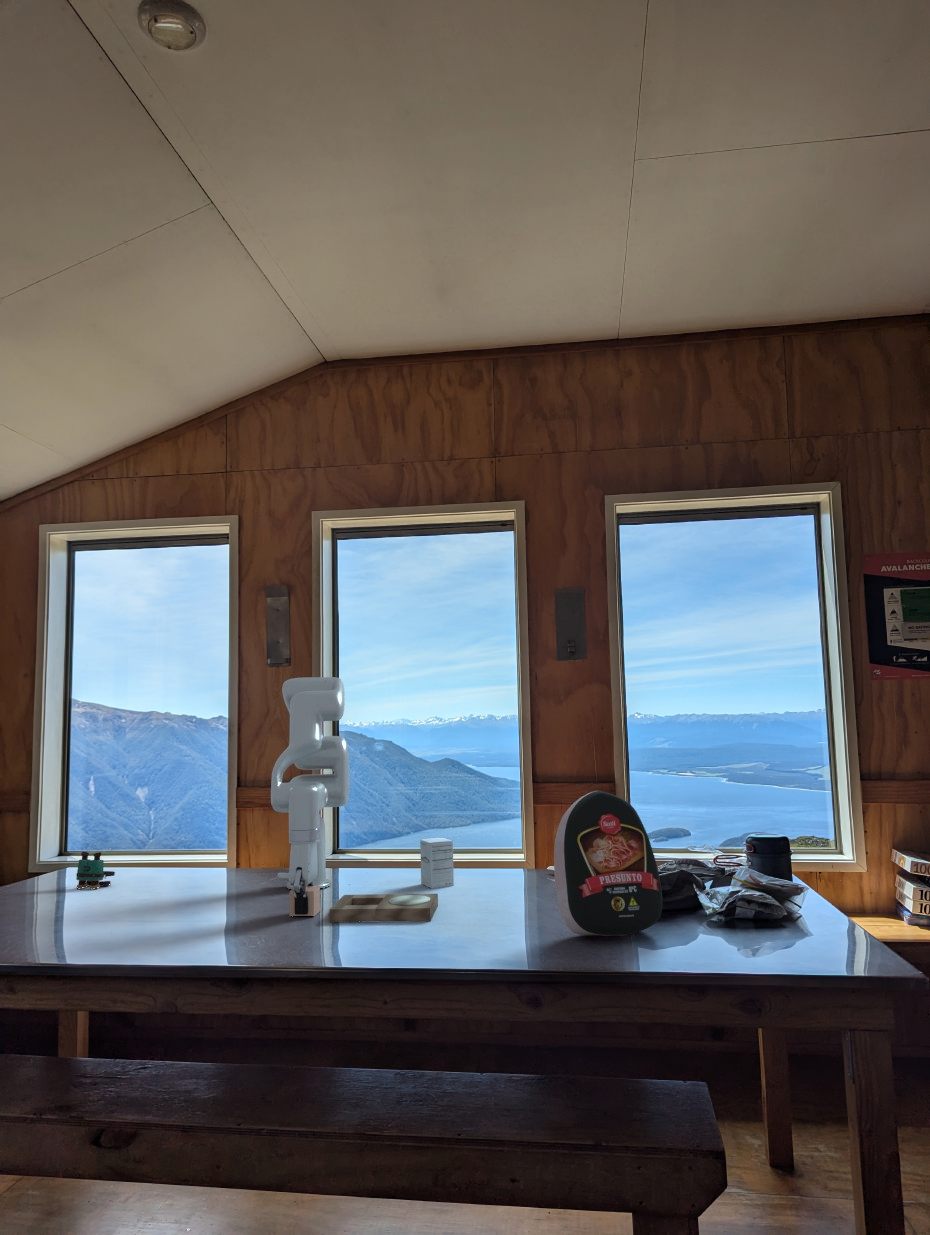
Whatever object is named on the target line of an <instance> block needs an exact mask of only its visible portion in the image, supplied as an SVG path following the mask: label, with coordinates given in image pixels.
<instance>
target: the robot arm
mask: <svg viewBox="0 0 930 1235" xmlns="http://www.w3.org/2000/svg"><path fill="white" fill-rule="evenodd" d="M281 690H282V691H281V692H282V697H283V701H284V703H285V706H286V708H287V711H288V713H289V744H288V746H287V748H286V749H285V750H283V752H282V753H281V754H280V755H279V757H278V758H277V760H276V761H275V764H274V765H273V769H272V772H271V780H270V781H271V784H270V785H271V787H270V803H271V804H270V805H271V807H272V809H273V810H274V812H277V813H288V843H289V844H291V845H290V853H289V867H288V870H289V871H288V872H278V873H277V880H278V881H288V882H287V883H286V886H287V887H288V888H290V889H293V888H294V889H295V890H294V892H295V894H294V899H295V914H308V897H306V896H307V886H320V888H323V889H326V888H325V887H327V888H329V887H330V886H332V880H330V879H327V877H326V875H327V872H326V867H327V866H326V863H327V862H326V824H325V820H324V819H323V817H322V816H321V815H320V811H321V810H322V809H324V808H338V807H343V806H345V805H347V804H348V802H349V800H350V756H349V754H350V753H349V746H348V742H347V740H346V739H345V738H344V737H342V736H339V735H329V736H328V735H326V736H324V734H323V722H332V721H333V722H337V721H339V720H342V718H343V716H344V713H345V686H344V683H343V681H342V679H341V678H339V677H334V676H331V677H330V676H327V677H326V676H321V677H319V676H318V677H317V676H316V677H312V676H311V677H305V676H304V677H295V678H290V679H287V680H285V681H284V682H283V684H282V686H281ZM293 764H294V766H295V767H296V768H297V769H298V770H305V771H308V770H309V771H312V770H313V771H314V770H331V771H333V773H324V774H321V773H315V774H314V773H313V774H300V775H297V776H295V777H293V778H292V779H291V780H290V781H289V782H283V777H284V773H285V772H286V771H287V769H288V768H289V767H290V766H292V765H293ZM286 886H285V887H286ZM328 886H329V887H328ZM301 887H304V891H303V888H301Z"/></svg>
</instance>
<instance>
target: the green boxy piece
mask: <svg viewBox="0 0 930 1235" xmlns="http://www.w3.org/2000/svg"><path fill="white" fill-rule="evenodd" d="M80 856H81V859H79V860H78V864H77V871H76V874H75V875H76V876H75V878H76V881H78V884H76V888H77V887H78V888H82V887H86V886H87V887H88V885H89V889H90V888H97V887H99V888H100V887H103V886H102V885H106V886H110V885H111V883H112V882H111V880H104V881H103V879H107V877H113V876H115V874H116V871H114V870H113V871H110V870H109V871H108V870H104V864H105V863H104V859H101V857H102V851H98V852H96V853H93V857H94V858H93V859H88V858H89V856H90V853H89V852H87V851H81V855H80ZM109 884H110V885H109ZM87 887H86V888H87Z"/></svg>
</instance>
